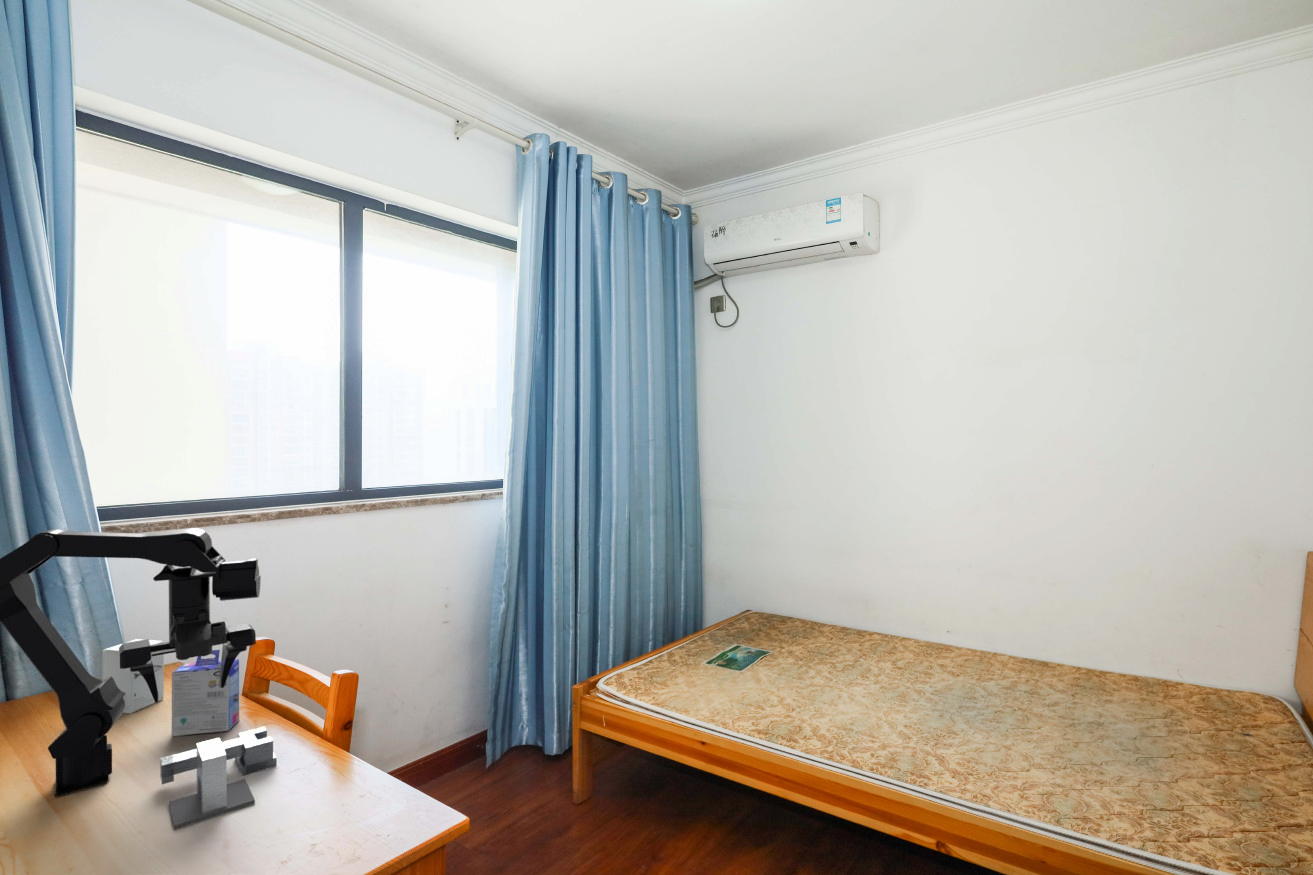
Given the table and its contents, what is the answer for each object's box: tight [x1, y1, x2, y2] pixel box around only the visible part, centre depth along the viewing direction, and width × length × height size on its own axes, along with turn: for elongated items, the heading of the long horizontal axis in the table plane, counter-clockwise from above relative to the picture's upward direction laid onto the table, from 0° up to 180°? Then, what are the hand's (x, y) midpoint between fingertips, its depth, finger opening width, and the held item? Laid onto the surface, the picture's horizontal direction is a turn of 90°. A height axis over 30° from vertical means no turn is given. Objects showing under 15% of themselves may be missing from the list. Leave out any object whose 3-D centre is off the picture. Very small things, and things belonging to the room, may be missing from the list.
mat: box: [168, 778, 256, 831], centre depth 101 cm, size 10×8×1 cm
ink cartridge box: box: [170, 649, 240, 737], centre depth 126 cm, size 10×6×14 cm, turn 104°
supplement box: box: [101, 638, 165, 715], centre depth 136 cm, size 7×7×13 cm
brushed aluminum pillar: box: [195, 737, 228, 814], centre depth 101 cm, size 3×7×8 cm, turn 41°
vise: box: [159, 725, 278, 785], centre depth 110 cm, size 16×7×4 cm, turn 131°
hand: (190, 694), depth 113 cm, fingers open, 9 cm apart
